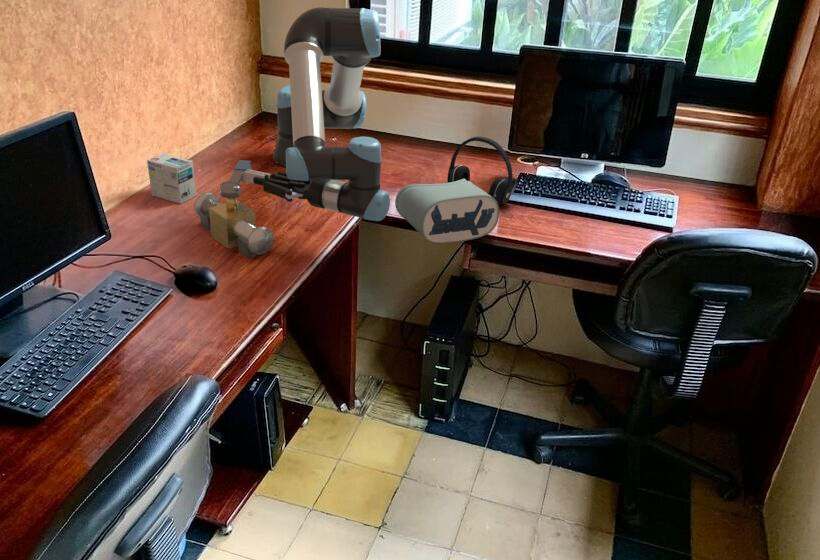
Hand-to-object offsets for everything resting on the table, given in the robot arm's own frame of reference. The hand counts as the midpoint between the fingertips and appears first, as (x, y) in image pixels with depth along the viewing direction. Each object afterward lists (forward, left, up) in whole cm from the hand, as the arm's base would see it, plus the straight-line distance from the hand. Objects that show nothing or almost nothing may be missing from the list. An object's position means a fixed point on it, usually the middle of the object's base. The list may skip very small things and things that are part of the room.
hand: (246, 175), depth 187 cm
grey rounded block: (+40, +33, -14) cm, 54 cm away
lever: (0, -3, -1) cm, 3 cm away
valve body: (+4, -9, -13) cm, 17 cm away
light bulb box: (-27, -3, -14) cm, 30 cm away
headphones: (+36, +57, -14) cm, 69 cm away
